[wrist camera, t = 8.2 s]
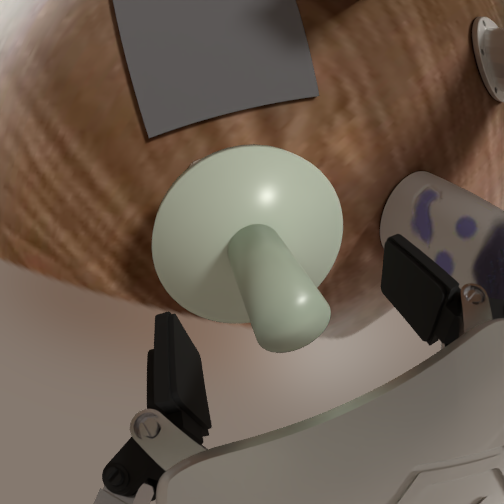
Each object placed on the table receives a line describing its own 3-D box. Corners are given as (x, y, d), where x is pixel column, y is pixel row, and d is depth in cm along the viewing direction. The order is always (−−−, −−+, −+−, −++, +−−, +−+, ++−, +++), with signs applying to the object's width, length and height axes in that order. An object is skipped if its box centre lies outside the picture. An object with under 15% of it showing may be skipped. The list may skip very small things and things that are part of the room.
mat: (280, -38, 10) (281, -40, 10) (316, 96, 17) (319, 95, 17) (112, -7, 9) (111, -9, 9) (149, 137, 16) (149, 138, 16)
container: (392, 162, 21) (589, 286, 4) (449, 178, 24) (589, 270, 7) (367, 259, 26) (501, 410, 9) (425, 255, 29) (536, 362, 12)
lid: (324, 126, 13) (418, 151, 7) (338, 281, 19) (391, 349, 13) (122, 184, 12) (79, 252, 6) (192, 331, 18) (206, 420, 12)
